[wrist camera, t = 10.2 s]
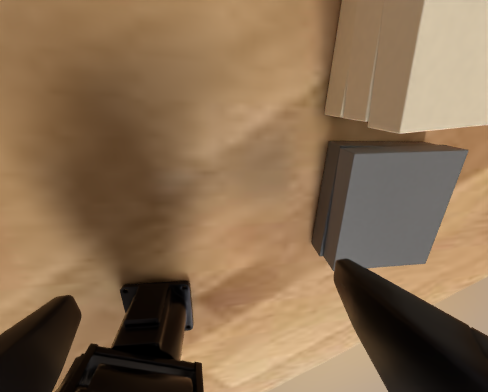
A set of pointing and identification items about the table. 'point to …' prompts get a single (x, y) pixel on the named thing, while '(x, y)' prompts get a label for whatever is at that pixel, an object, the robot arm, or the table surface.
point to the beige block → (354, 59)
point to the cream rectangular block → (431, 66)
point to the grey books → (384, 201)
